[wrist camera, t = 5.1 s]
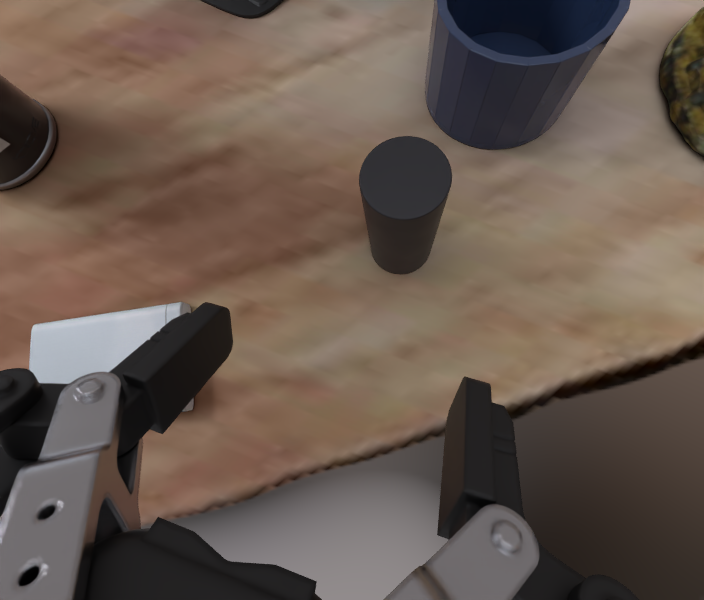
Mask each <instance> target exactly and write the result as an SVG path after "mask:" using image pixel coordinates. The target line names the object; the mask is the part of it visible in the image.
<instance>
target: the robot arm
mask: <svg viewBox="0 0 704 600" xmlns="http://www.w3.org/2000/svg"><path fill="white" fill-rule="evenodd" d="M56 136H57V130H56V123H55V120H54V118H53V116H52V114H51V113H50V112H49V110H48V109H46V108H45V107H44V106H43V105H41V104H40V103H39V102H37V101H36V100H34V99H32V98H30V97H29V96H28V95H26V94H25V93H24V92H22V91H21V90H20V89H18V88H17V87H16V86H14V85H13V84H12V83H10V82H9V81H8V80H6V79H5V78H4V77H3V76H1V75H0V190H3V189H9V188H13V187H16V186H18V185H21V184H23V183H24V182H26V181H28V180H29V179H31V178H32V177H33V176H34V175H36V174H37V173H38V172H39V171H40V170H41V169H42V167H43V166H44V165H45V164H46V162H47V161H48V159H49V158H50V156H51V154H52V151H53V149H54V146H55V142H56ZM232 345H233V338H232V328H231V319H230V311H229V309H228V308H226V307H222V306H219V305H215V304H212V303H208V302H205V303H203V304H202V305H200V306H199V307H198V308H197V309H196V310H195V311H194V312H192V313H188V312H187V313H185V314H183V315H180V316H178V317H176V318H174V319H172V320H171V321H169V322H168V323H167V324H166V325H165V326H163V327H162V328H161V329H160V331H157V332H156V333H155V334H154V335H153V336H151V337H150V340H147V341H145V342H144V343H143V344H142V345H141V346H139V347H138V348H137V349H136V350H135V351H134V352H132V353H131V354H130V355H129V356H128V357H126V358H125V359H124V360H123V361H122V362H120V363H119V364H118V365H117V366H116V367H114V368H113V369H112V370H111V371H109V372H94V373H90V374H87V375H84V376H81V377H79V378H77V379H75V380H74V381H72V382H71V383H70V384H59V383H39V382H38V380H37V378H36V377H35V375H34V373H33V372H31V371H30V370H27V369H23V368H14V369H7V370H3V371H0V516H1V515H2V514H3V515H2V517H1V520H0V600H322V599H321V598H319V597H318V596H317V595H316V594H315V588H316V581H314V580H311V579H309V578H306V577H304V576H302V575H299V574H297V573H294V572H292V571H289V570H287V569H284V568H282V567H279V566H277V565H271V564H256V563H241V562H230V561H227V560H226V559H224V558H223V557H222V556H221V555H220V554H219V553H217V552H216V551H215V550H214V549H213V548H212V547H211V546H210V545H208V544H207V543H206V542H205V541H204V540H203V539H202V538H201V537H200V536H199V535H197V534H196V533H195V532H193V531H191V530H189V529H186V528H184V527H181V526H179V525H176V524H174V523H171V522H169V521H167V520H164V519H162V518H159V517H158V518H157V519H156V521H155V522H154V524H153V525H152V527H151V528H150V529H149V528H147V529H141V523H140V514H139V508H138V493H139V482H140V471H141V460H142V449H143V439H142V437H143V436H144V434H145V433H146V432H147V431H148V430H149V429H150V430H153V431H156V432H159V433H161V434H163V433H164V432H165V431H166V430H167V428H168V427H169V426H170V425H171V424H172V422H173V421H174V420H175V419H176V418H177V417H178V415H179V414H180V413H181V412H182V411H183V409H184V408H185V407H186V406H187V405H188V404H189V402H190V401H191V400H192V399H193V398H194V396H195V395H196V394H197V393H198V392H199V391H200V389H201V388H202V387H203V386H204V385H205V383H206V382H207V381H208V380H209V379H210V378H211V376H212V375H213V374H214V373H215V372H216V370H217V369H218V368H219V367H220V366H221V365H222V363H223V362H224V361H225V360H226V359H227V357H228V356H229V354H230V352H231V349H232ZM514 440H515V436H514V427H513V422H512V420H511V418H510V416H509V414H508V412H507V410H506V409H505V407H504V406H502V405H499V404H495V403H492V400H491V386H490V384H489V383H486V382H482V381H479V380H475V379H472V378H468V377H464V378H463V380H462V382H461V384H460V386H459V389H458V391H457V393H456V396H455V398H454V400H453V403H452V405H451V407H450V410H449V413H448V417H447V422H446V430H445V443H444V456H443V469H442V483H441V495H440V509H439V520H438V534H437V535H439V536H441V537H444V538H447V539H449V541H448V542H447V543H446V544H445V545H444V546H443V547H442V548H441V549H440V550H439V551H438V552H437V553H436V554H434V555H433V556H432V557H431V558H430V559H429V560H428V561H427V562H426V563H425V564H424V565H422V566H419V567H418V568H416V569H415V570H414V571H413V572H412V573H411V574H410V575H409V576H407V577H406V578H405V579H404V580H403V581H402V582H401V583H400V584H399V585H398V586H397V587H396V588H395V589H394V590H393V591H392V592H391V593H390V594H389V595H388V596H387V597H386V598H385V599H384V600H639V599H638V598H637V597H636V596H635V595H634V594H633V593H632V592H631V591H630V590H629V589H627V587H625V586H624V585H623V584H621V583H620V582H618V581H617V580H615V579H613V578H611V577H608V576H604V575H592V576H589V577H588V578H585V577H583V576H582V575H580V574H579V573H577V572H576V571H574V570H573V569H572V568H570V567H569V566H567V565H566V564H564V563H563V562H562V561H560V560H559V559H557V558H556V557H554V556H553V555H552V554H550V553H549V552H548V551H547V550H546V549H545V548H544V547H543V546H542V545H541V544H540V543H539V542H538V541H537V540H536V537H535V535H534V533H533V531H532V529H531V528H530V527H529V525H528V524H527V522H526V521H525V517H524V514H523V508H522V499H521V490H520V481H519V472H518V463H517V457H516V446H515V442H514Z"/></svg>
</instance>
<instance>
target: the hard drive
mask: <svg viewBox="0 0 704 600" xmlns="http://www.w3.org/2000/svg"><path fill="white" fill-rule="evenodd" d="M187 312H188V313H191V307H190V305H189V304H186V303H184V302H178V303H171V304H166V305H159V306H153V307H146V308H139V309H133V310H126V311H119V312H113V313H106V314H100V315H93V316H87V317H81V318H74V319H67V320H60V321H54V322H47V323H41V324H35V325H34V326H33V328H32V332H31V347H30V364H29V370H30V371H31V372H33V373H34V375H35V377H36V378H37V380H38V382H39V383H59V384H70V383H71V382H72V381H74V380H75V379H77V378H79V377H81V376H84V375H87V374H90V373H94V372H109V371H111V370H112V369H113V368H114V367H116V366H117V365H118V364H119V363H120V362H122V361H123V360H124V359H125V358H126V357H128V356H129V355H130V354H131V353H132V352H134V351H135V350H136V349H137V348H138V347H139V346H141V345H142V344H143V343H144V342H145V341H147V340H150V337H151V336H153V335H154V334H155V333H156V332H157V331H160V329H161V328H162V327H163V326H165V325H166V324H167V323H168V322H169V321H171V320H172V319H174V318H176V317H178V316H180V315H183V314H185V313H187ZM193 405H194V398H193V399H192V400H191V401H190V402H189V404H188V405H187V406H186V407H185V408H184V409H183V411H182V412H184V411H190V410H193Z"/></svg>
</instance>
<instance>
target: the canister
mask: <svg viewBox="0 0 704 600" xmlns="http://www.w3.org/2000/svg"><path fill="white" fill-rule="evenodd" d="M451 182H452V172H451V167H450V164H449V162H448V159H447V158H446V156H445V154H444V153H443V152H442V151H441V150H440V149H439V148H438V147H437V146H436V145H434V144H433V143H431V142H429V141H427V140H425V139H422V138H418V137H412V136H403V137H396V138H392V139H389V140H387V141H385V142H383V143H381V144H380V145H378V146H377V147H375V148H374V149H373V150H372V151H371V152H370V153H369V154H368V156H367V157H366V159H365V160H364V162H363V164H362V167H361V170H360V175H359V185H360V191H361V196H362V202H363V207H364V213H365V219H366V224H367V230H368V235H369V241H370V247H371V252H372V255H373V258H374V260H375V261H376V263H377V264H378V265H379V266H380V267H381V268H383V269H384V270H386V271H388V272H391V273H394V274H406V273H410V272H413V271H415V270H417V269H418V268H420V267H421V266H422V265H423V264H424V263H425V262H426V260H427V258H428V256H429V254H430V251H431V248H432V244H433V241H434V238H435V235H436V232H437V228H438V225H439V222H440V219H441V216H442V213H443V209H444V206H445V203H446V200H447V197H448V193H449V190H450V187H451Z"/></svg>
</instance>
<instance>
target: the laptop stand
mask: <svg viewBox="0 0 704 600" xmlns="http://www.w3.org/2000/svg"><path fill="white" fill-rule="evenodd" d="M202 1H204V2H206V3H208V4H210V5H212V6H214V7H216V8H219V9H221V10H223V11H226V12H228V13H231V14H234V15H237V16H240V17H247V18H251V17H259V16H261V15H264V14H266V13H268V12H269V11H271V10H272V9H274V8H275V7H276V6H277V5H279V4H280V3H281V2H282V1H283V0H202Z"/></svg>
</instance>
